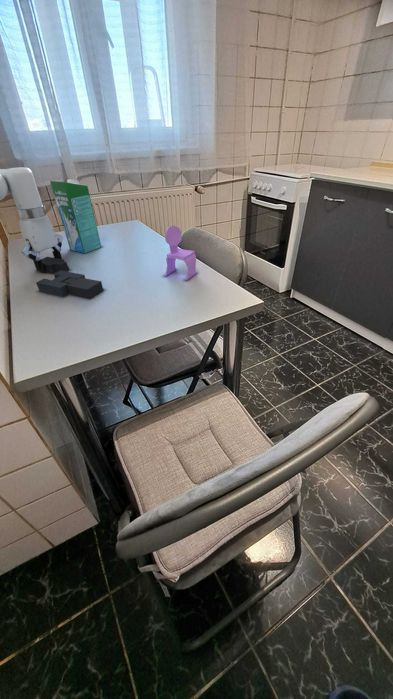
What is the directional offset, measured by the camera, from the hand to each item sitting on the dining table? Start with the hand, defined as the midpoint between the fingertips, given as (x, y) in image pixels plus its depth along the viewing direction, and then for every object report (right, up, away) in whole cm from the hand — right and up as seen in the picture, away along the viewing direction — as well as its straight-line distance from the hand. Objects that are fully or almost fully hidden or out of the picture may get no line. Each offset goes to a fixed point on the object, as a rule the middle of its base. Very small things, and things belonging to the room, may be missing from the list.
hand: (50, 266), depth 104 cm
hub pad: (+10, -10, -12) cm, 19 cm away
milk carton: (+6, +12, +18) cm, 22 cm away
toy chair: (+47, -5, -7) cm, 48 cm away
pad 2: (+17, -12, -15) cm, 26 cm away
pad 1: (+1, -1, 0) cm, 2 cm away
